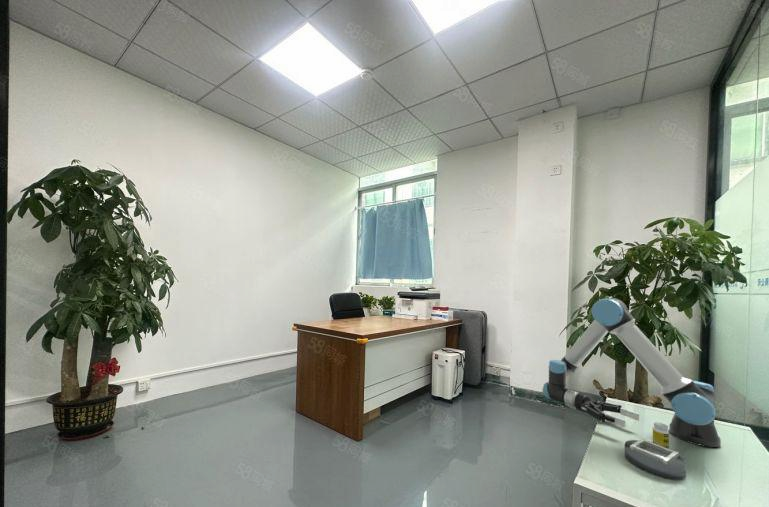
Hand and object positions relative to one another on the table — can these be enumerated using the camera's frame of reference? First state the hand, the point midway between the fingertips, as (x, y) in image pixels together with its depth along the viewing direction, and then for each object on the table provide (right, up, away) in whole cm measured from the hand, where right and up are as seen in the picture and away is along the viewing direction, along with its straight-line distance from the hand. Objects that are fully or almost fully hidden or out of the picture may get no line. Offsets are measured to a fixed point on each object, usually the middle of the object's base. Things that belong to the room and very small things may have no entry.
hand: (632, 420), depth 128 cm
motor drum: (-9, -4, -21) cm, 23 cm away
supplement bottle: (+5, -6, -8) cm, 11 cm away
